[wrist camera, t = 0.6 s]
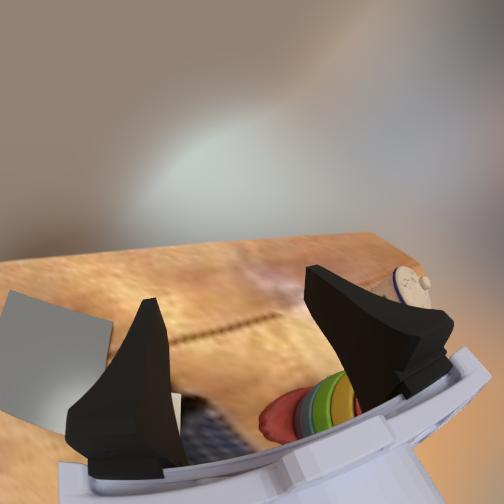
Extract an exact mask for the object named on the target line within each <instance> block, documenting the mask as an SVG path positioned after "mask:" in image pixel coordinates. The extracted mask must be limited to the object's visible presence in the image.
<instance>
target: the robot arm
mask: <svg viewBox="0 0 504 504" xmlns="http://www.w3.org/2000/svg"><path fill="white" fill-rule="evenodd" d="M304 301H305V303H306V305H307V308H308V310H309V312H310V314H311V316H312V317H313V319H314V320H315V322H316V323H317V325H318V326H319V328H320V329H321V331H322V332H323V334H324V335H325V337H326V338H327V340H328V341H329V343H330V344H331V346H332V347H333V349H334V350H335V352H336V354H337V356H338V358H339V360H340V362H341V364H342V366H343V368H344V370H345V372H346V374H347V376H348V379H349V381H350V383H351V385H352V388H353V390H354V393H355V395H356V398H357V400H358V403H359V406H360V409H361V412H362V414H361V415H359V416H357V417H355V418H353V419H351V420H348V421H346V422H344V423H342V424H339V425H337V426H334V427H332V428H330V429H327V430H325V431H322V432H319V433H317V434H314V435H311V436H309V437H306V438H303V439H300V440H297V441H294V442H291V443H288V444H285V445H282V446H279V447H275V448H272V449H268V450H265V451H261V452H257V453H253V454H249V455H245V456H241V457H237V458H232V459H227V460H222V461H217V462H211V463H206V464H199V465H193V466H188V463H187V460H186V456H185V453H184V449H183V446H182V442H181V438H180V434H179V430H178V426H177V421H176V416H175V411H174V406H173V401H172V394H171V382H170V358H169V344H168V336H167V329H166V326H165V324H164V321H163V318H162V315H161V312H160V309H159V306H158V303H157V300H156V297H155V298H150V299H144V300H143V301H142V302H141V304H140V307H139V309H138V312H137V314H136V316H135V319H134V321H133V323H132V325H131V327H130V329H129V331H128V333H127V335H126V337H125V339H124V341H123V343H122V345H121V347H120V348H119V350H118V352H117V353H116V355H115V357H114V358H113V360H112V361H111V363H110V364H109V366H108V367H107V368H106V370H105V371H104V372H103V374H102V375H101V376H100V378H99V379H98V380H97V381H96V382H95V384H94V385H93V386H92V387H91V388H90V389H89V390H88V391H87V392H86V393H85V394H84V395H83V396H82V397H81V398H80V399H79V400H78V401H77V402H76V403H75V404H73V405H72V406H71V407H70V408H69V409H68V412H67V417H66V429H65V440H66V442H67V444H68V445H69V446H71V447H72V448H73V449H74V450H76V451H77V452H79V453H80V454H82V455H83V456H84V457H86V458H87V459H88V465H85V464H82V463H72V462H62V461H59V462H58V495H59V504H447V503H446V502H445V500H444V499H443V497H442V495H441V494H440V492H439V490H438V489H437V487H436V486H435V484H434V482H433V481H432V479H431V477H430V476H429V474H428V473H427V471H426V469H425V468H424V466H423V465H422V463H421V461H420V460H419V458H418V457H417V455H416V453H415V452H414V450H413V449H412V448H414V447H415V446H417V445H418V444H420V443H421V442H422V441H424V440H425V439H426V438H428V437H429V436H430V435H432V434H433V433H434V432H435V431H437V430H438V429H439V428H441V427H442V426H443V425H444V424H445V423H447V422H448V421H449V420H450V419H452V418H453V417H454V416H455V415H456V414H457V413H459V412H460V411H461V410H462V409H463V408H464V407H465V406H467V405H468V404H469V402H470V401H471V400H472V399H473V398H474V397H475V396H476V395H477V394H478V393H479V392H480V390H481V389H482V388H483V387H484V386H485V385H486V384H487V382H488V381H489V380H490V379H491V375H490V373H489V372H488V371H487V370H486V369H485V368H484V366H483V365H482V364H481V363H480V362H479V361H478V360H477V359H476V358H475V356H474V355H473V354H472V353H471V352H470V351H469V350H468V349H467V348H466V347H465V346H464V347H462V348H461V349H459V350H458V351H457V352H456V353H454V354H453V355H452V356H451V357H450V358H449V359H448V358H447V357H446V356H445V355H446V353H447V351H446V350H445V349H444V345H445V343H446V342H447V340H448V338H449V336H450V334H451V333H452V330H453V327H454V321H453V320H452V319H451V318H450V317H449V316H448V315H447V314H446V313H445V312H444V311H442V310H435V309H426V308H420V307H415V306H411V305H406V304H403V303H399V302H396V301H392V300H389V299H386V298H384V297H381V296H379V295H376V294H374V293H371V292H369V291H367V290H365V289H363V288H361V287H358V286H357V285H355V284H353V283H351V282H349V281H347V280H345V279H343V278H341V277H340V276H338V275H336V274H334V273H332V272H331V271H329V270H327V269H325V268H323V267H321V266H319V265H313V266H309V267H306V276H305V289H304Z"/></svg>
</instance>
